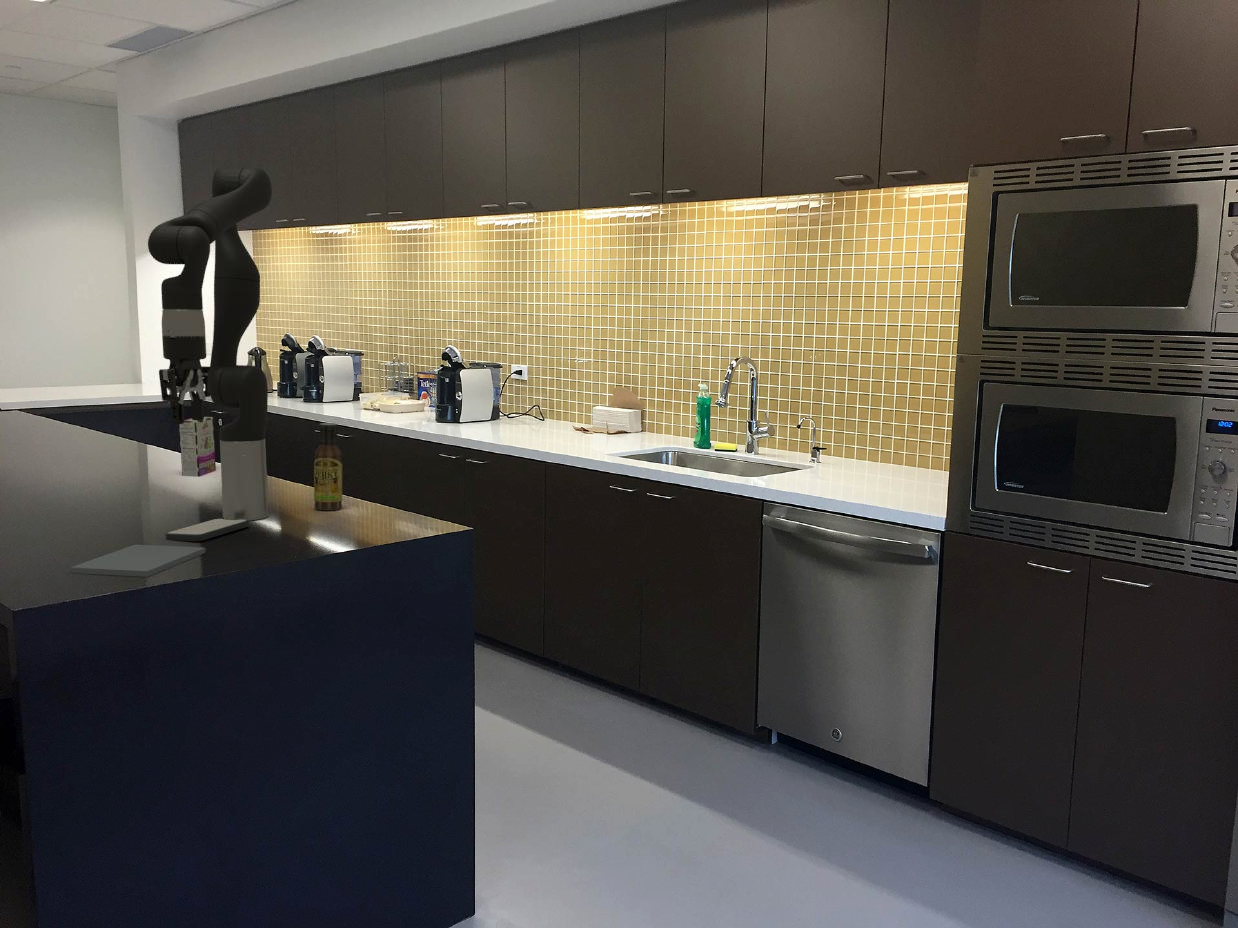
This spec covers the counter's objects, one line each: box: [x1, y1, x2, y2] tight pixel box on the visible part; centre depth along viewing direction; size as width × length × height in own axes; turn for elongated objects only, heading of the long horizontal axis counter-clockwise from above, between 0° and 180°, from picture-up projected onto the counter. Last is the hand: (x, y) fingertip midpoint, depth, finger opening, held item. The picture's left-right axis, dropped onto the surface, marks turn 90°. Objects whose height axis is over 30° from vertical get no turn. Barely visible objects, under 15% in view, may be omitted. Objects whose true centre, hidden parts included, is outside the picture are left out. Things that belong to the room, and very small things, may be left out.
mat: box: [69, 544, 206, 578], centre depth 175 cm, size 18×14×1 cm
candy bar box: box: [178, 416, 217, 478], centre depth 268 cm, size 11×5×16 cm, turn 179°
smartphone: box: [165, 518, 250, 542], centre depth 199 cm, size 9×2×16 cm
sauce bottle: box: [313, 422, 343, 511], centre depth 226 cm, size 6×6×20 cm
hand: (188, 421), depth 188 cm, fingers open, 6 cm apart
